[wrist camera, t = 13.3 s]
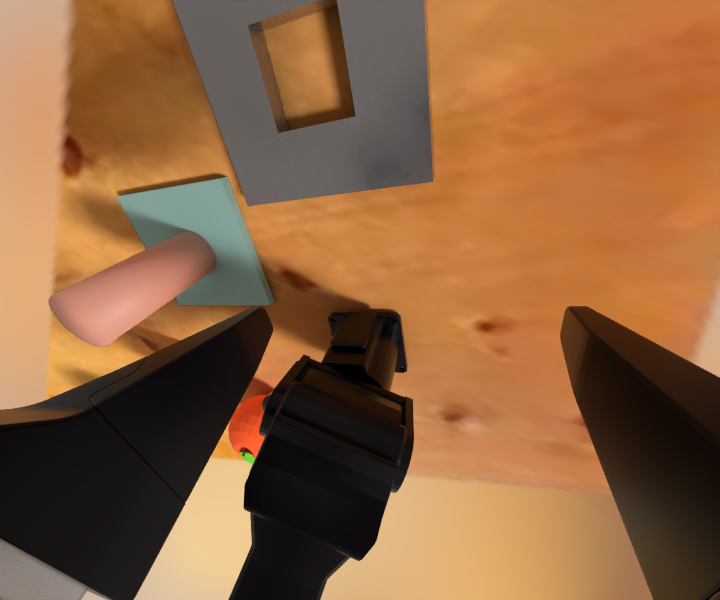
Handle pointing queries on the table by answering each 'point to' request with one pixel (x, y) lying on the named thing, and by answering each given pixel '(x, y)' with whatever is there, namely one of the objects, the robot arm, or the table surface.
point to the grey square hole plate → (327, 140)
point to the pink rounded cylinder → (132, 288)
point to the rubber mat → (213, 223)
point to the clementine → (247, 428)
